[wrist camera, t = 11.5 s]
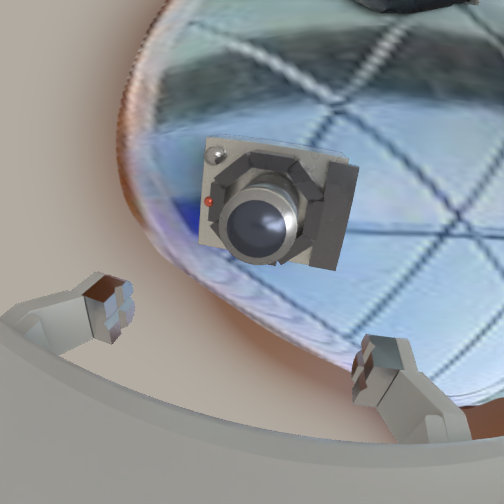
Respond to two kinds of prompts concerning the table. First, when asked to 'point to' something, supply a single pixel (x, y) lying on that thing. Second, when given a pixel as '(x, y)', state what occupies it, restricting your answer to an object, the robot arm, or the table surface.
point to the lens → (260, 220)
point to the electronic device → (410, 5)
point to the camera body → (303, 180)
